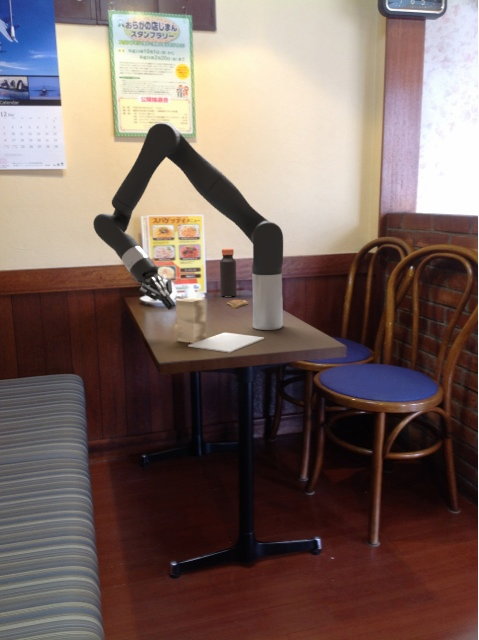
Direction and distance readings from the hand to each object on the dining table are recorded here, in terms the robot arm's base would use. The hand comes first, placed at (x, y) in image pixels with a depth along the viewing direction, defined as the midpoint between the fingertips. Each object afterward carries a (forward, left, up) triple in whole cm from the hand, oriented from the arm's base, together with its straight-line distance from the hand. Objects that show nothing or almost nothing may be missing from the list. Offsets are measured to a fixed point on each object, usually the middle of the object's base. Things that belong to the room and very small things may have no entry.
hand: (172, 307), depth 169 cm
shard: (-55, -12, -10) cm, 57 cm away
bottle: (-71, -28, -9) cm, 77 cm away
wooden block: (0, +7, -9) cm, 11 cm away
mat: (-2, +18, -9) cm, 20 cm away
